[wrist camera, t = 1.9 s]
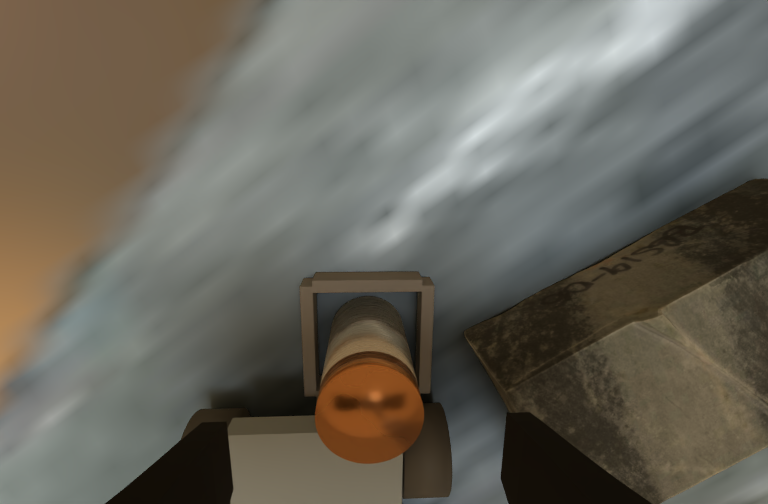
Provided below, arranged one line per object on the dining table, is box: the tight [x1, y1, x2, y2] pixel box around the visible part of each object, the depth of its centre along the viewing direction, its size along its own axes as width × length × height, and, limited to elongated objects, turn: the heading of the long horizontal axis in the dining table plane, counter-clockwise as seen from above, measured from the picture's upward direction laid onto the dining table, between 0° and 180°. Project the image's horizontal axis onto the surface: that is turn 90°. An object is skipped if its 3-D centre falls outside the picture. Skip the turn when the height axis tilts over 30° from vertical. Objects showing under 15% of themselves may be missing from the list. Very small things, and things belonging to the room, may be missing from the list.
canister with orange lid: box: [315, 296, 424, 464], centre depth 14 cm, size 3×3×6 cm
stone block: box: [464, 179, 768, 504], centre depth 15 cm, size 9×14×5 cm, turn 118°
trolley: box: [181, 272, 452, 504], centre depth 16 cm, size 17×10×5 cm, turn 179°
